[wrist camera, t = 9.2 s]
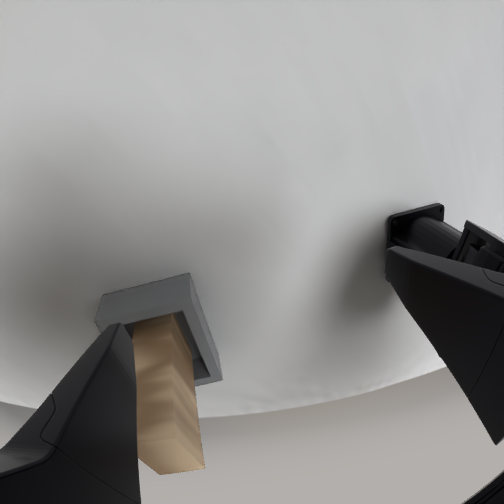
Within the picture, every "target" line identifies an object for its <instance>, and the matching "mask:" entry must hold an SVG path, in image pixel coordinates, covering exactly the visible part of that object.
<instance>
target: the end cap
mask: <svg viewBox="0 0 504 504" xmlns="http://www.w3.org/2000/svg"><path fill="white" fill-rule="evenodd" d="M170 313H174V314H175V316H176V318H177V320H178V322H179V325H180V327H181V329H182V331H183V333H184V335H185V337H186V339H187V341H188V343H189V345H190V347H191V351H192V362H193V373H194V384H195V386H199V385H204V384H208V383H213V382H217V381H221V380H223V377H222V372H221V366H220V361H219V355H218V352H217V349H216V346H215V344H214V341H213V338H212V336H211V333H210V330H209V327H208V325H207V322H206V319H205V316H204V314H203V311H202V308H201V305H200V302H199V299H198V296H197V294H196V291H195V288H194V285H193V282H192V279H191V276H190V273H187V274H183V275H179V276H175V277H171V278H168V279H164V280H160V281H156V282H152V283H148V284H144V285H141V286H137V287H133V288H129V289H125V290H121V291H117V292H114V293H110V294H106V295H103V297H102V299H101V302H100V305H99V308H98V311H97V314H96V318H95V323H96V325H97V327H98V328H99V330H100V332H101V333H102V332H103V331H104V330H105V329H106V328H107V327H108V325H110V324H113V323H118V322H120V323H122V324H123V325H124V327H125V329H126V331H127V333H128V334H129V336H130V338H131V340H132V338H133V332H134V325H135V322H136V321H141V320H145V319H149V318H153V317H158V316H162V315H166V314H170Z"/></svg>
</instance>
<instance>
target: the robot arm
mask: <svg viewBox="0 0 504 504" xmlns="http://www.w3.org/2000/svg"><path fill="white" fill-rule="evenodd" d="M394 220H395V222H394V223H393V221H394ZM443 220H444V205H442V204H440V203H438V204H434V205H430V206H426V207H422V208H418V209H415V210H411V211H407V212H403V213H399V214H396V215H392V216H391V217H390V218H389V219H388V241H387V250H386V252H385V274H386V280H387V281H388V282H390V283H391V285H392V286H393V288H394V290H395V291H396V293H397V295H398V296H399V298H400V300H401V301H402V303H403V304H404V306H405V308H406V309H407V310H408V312H409V313H410V315H411V316H412V317H413V319H414V320H415V321H416V323H417V324H418V325H419V327H420V328H421V330H422V331H423V332H424V334H425V335H426V337H427V338H428V339H429V341H430V342H431V344H432V345H433V347H434V348H435V350H436V351H437V353H438V355H439V357H440V358H442V360H443V361H444V363H445V364H446V366H447V367H448V368H449V370H450V372H451V373H452V374H453V376H454V378H455V379H456V381H457V382H458V384H459V385H460V387H461V388H462V390H463V392H464V393H465V395H466V396H467V398H468V400H469V401H470V403H471V404H472V406H473V408H474V410H475V411H476V413H477V415H478V416H479V418H480V420H481V421H482V423H483V425H484V427H485V428H486V430H487V432H488V433H489V435H490V437H491V439H492V441H493V442H494V444H495V445H497V444H498V443H500V442H501V441H502V440H503V439H504V240H503V239H501V238H500V237H498V236H496V235H495V234H493V233H491V232H489V231H488V230H486V229H484V228H482V227H480V226H478V225H476V224H474V223H472V222H470V221H468V220H466V222H465V225H464V227H465V228H464V230H463V233H462V232H460V231H459V230H457V229H455V228H454V227H452V226H450V225H449V224H447V223H445V222H444V221H443ZM0 504H141V497H140V484H139V470H138V450H137V382H136V371H135V358H134V346H133V342H132V340H131V338H130V336H129V334H128V333H127V331H126V329H125V327H124V325H123V324H122V323H120V322H118V323H113V324H110V325H108V327H107V328H106V329H105V330H104V331H103V332H102V333H101V335H100V336H99V337H98V338H97V339H96V340H95V341H94V342H93V344H92V345H91V346H90V347H89V348H88V349H87V351H86V352H85V353H84V354H83V355H82V356H81V358H80V359H79V360H78V361H77V362H76V363H75V365H74V366H73V367H72V368H71V369H70V371H69V372H68V373H67V374H66V375H65V377H64V378H63V379H62V380H61V381H60V383H59V384H58V385H57V386H56V387H55V389H54V390H53V391H52V394H50V395H49V396H48V397H47V399H46V400H45V401H44V402H43V403H42V405H41V406H40V407H39V408H38V409H37V411H36V412H35V413H34V414H33V415H32V416H31V417H30V418H29V420H28V421H27V422H26V423H25V424H24V425H23V426H22V427H21V428H20V430H19V431H18V432H17V433H16V434H15V435H14V436H13V437H12V438H11V440H10V441H9V442H8V443H7V444H6V445H5V446H4V447H3V448H1V449H0ZM462 504H504V470H503V471H502V472H501V473H500V474H499V475H498V476H497V477H495V478H494V479H493V480H492V481H491V482H490V483H488V484H487V485H486V486H485V487H483V488H482V489H481V490H479V491H478V492H477V493H475V494H474V495H473V496H471V497H470V498H469V499H467V500H466V501H465V502H463V503H462Z"/></svg>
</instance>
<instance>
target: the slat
mask: <svg viewBox="0 0 504 504" xmlns="http://www.w3.org/2000/svg"><path fill="white" fill-rule="evenodd" d="M132 342H133V346H134V358H135V371H136V382H137V450H138V458H139V459H140V460H141V461H143V462H144V463H145V464H146V465H148V466H149V467H150V468H151V469H153V470H154V471H156V472H157V473H158V474H160V475H162V474H171V473H179V472H186V471H193V470H199V469H205V464H204V458H203V451H202V444H201V436H200V428H199V420H198V412H197V403H196V394H195V384H194V373H193V362H192V351H191V347H190V345H189V343H188V341H187V339H186V337H185V335H184V333H183V331H182V329H181V327H180V325H179V322H178V320H177V318H176V316H175V314H174V313H170V314H166V315H162V316H158V317H153V318H149V319H145V320H141V321H136V322H135V325H134V332H133V338H132Z"/></svg>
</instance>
